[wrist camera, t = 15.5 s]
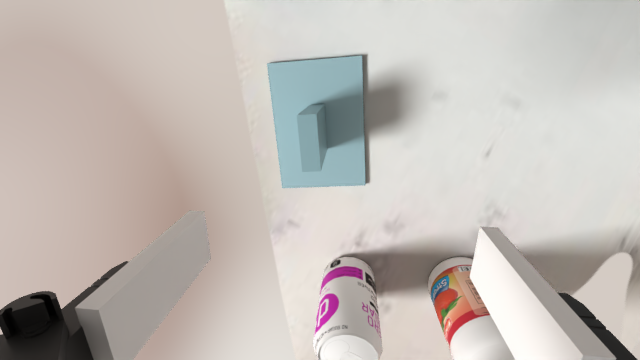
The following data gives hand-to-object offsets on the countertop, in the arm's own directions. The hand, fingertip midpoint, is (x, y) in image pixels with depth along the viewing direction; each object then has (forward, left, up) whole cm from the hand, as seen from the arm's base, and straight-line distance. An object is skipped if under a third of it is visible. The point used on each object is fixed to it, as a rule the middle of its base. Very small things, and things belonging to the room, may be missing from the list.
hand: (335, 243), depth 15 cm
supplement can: (+16, +17, -28) cm, 37 cm away
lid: (+2, -3, -29) cm, 29 cm away
